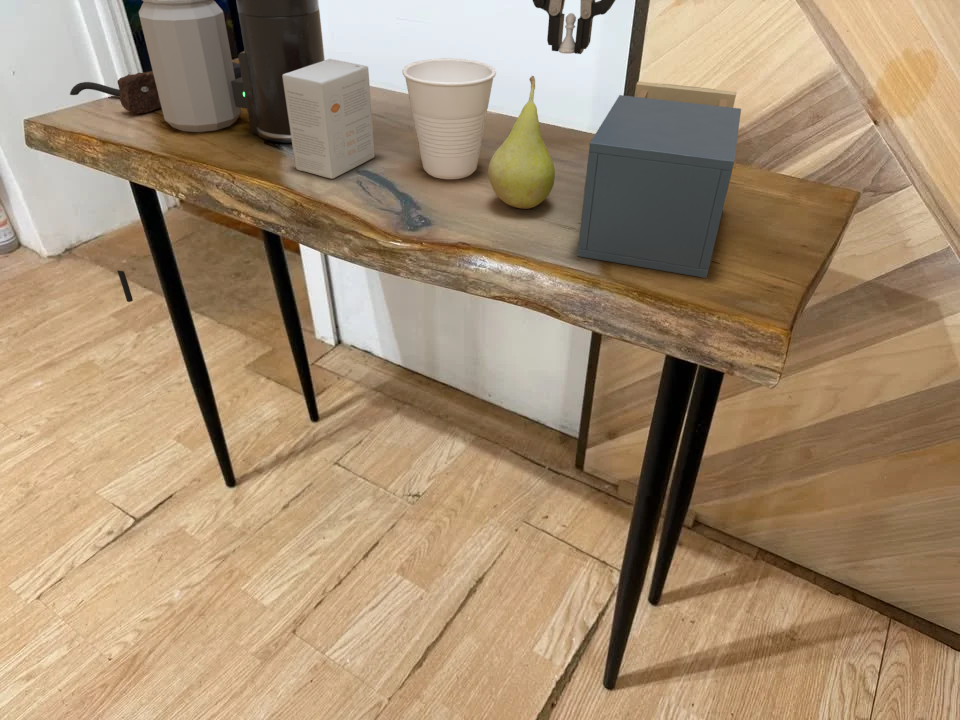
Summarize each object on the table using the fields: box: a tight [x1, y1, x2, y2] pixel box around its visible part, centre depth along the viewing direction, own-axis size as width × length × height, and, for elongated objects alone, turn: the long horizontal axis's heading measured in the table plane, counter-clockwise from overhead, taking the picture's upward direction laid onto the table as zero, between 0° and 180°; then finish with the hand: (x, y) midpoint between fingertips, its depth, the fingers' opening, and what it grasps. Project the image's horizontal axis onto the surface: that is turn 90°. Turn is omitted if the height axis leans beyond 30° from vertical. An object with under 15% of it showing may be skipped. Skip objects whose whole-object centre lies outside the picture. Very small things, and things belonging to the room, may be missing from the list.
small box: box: [282, 58, 376, 180], centre depth 79 cm, size 8×6×10 cm
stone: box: [117, 70, 162, 114], centre depth 96 cm, size 8×3×5 cm, turn 147°
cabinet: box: [576, 94, 742, 279], centre depth 66 cm, size 15×12×11 cm
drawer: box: [634, 80, 737, 108], centre depth 75 cm, size 18×10×9 cm, turn 161°
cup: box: [401, 57, 497, 180], centre depth 78 cm, size 10×10×11 cm
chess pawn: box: [558, 12, 577, 55], centre depth 81 cm, size 3×2×4 cm
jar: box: [138, 0, 242, 133], centre depth 88 cm, size 10×10×18 cm
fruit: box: [488, 75, 556, 210], centre depth 71 cm, size 7×8×12 cm
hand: (568, 50), depth 83 cm, fingers closed on chess pawn, 2 cm apart
